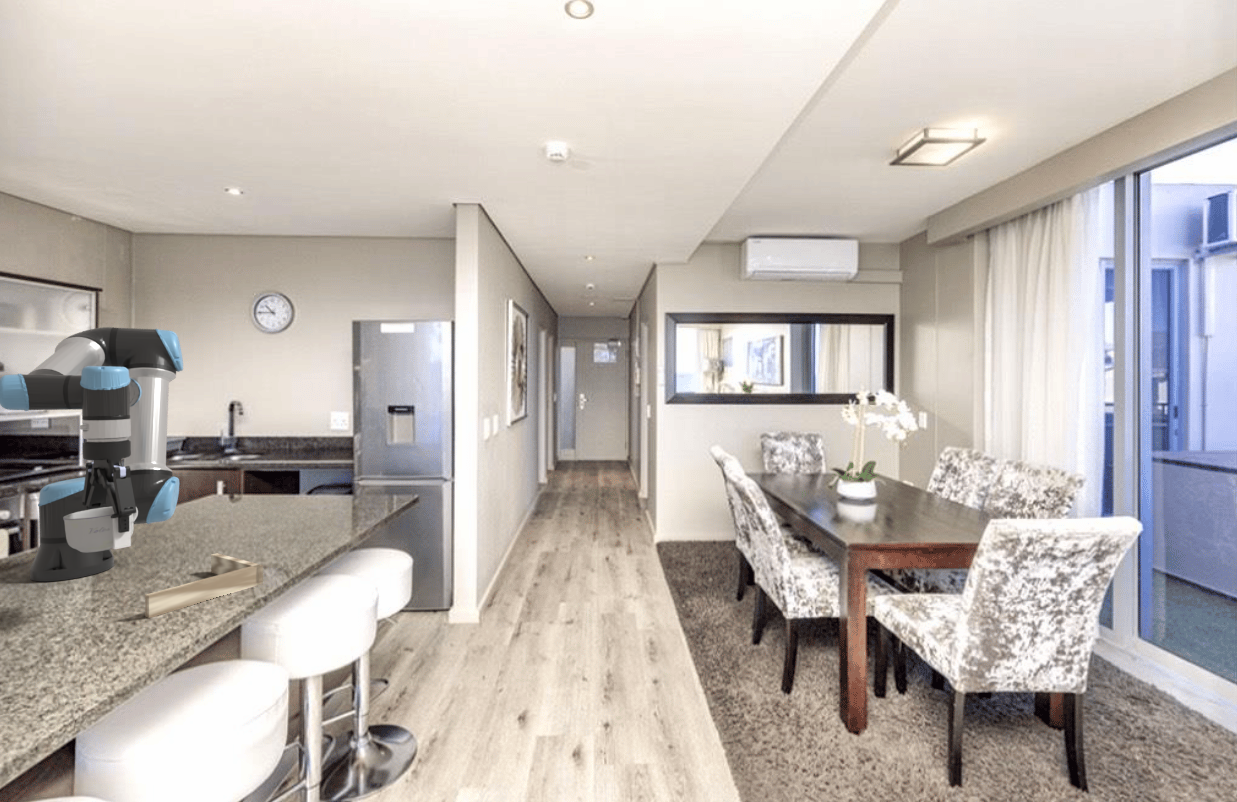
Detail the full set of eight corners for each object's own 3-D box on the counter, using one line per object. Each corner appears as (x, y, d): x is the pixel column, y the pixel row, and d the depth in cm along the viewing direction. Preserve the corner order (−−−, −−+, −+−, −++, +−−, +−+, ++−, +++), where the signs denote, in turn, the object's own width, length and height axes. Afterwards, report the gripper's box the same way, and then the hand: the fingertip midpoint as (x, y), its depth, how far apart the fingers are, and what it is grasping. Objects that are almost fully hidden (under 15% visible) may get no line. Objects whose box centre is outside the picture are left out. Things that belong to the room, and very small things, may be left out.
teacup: (91, 558, 112) (91, 518, 112) (49, 554, 114) (48, 514, 114) (161, 539, 125) (161, 503, 125) (122, 535, 128) (121, 500, 127)
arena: (104, 600, 124) (104, 579, 123) (217, 570, 143) (217, 553, 143) (149, 618, 114) (148, 596, 114) (262, 583, 134) (262, 565, 134)
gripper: (59, 437, 121) (62, 540, 122) (110, 444, 110) (112, 556, 111) (104, 435, 127) (106, 531, 128) (156, 441, 117) (157, 547, 117)
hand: (109, 543), depth 119 cm, fingers closed on teacup, 11 cm apart
